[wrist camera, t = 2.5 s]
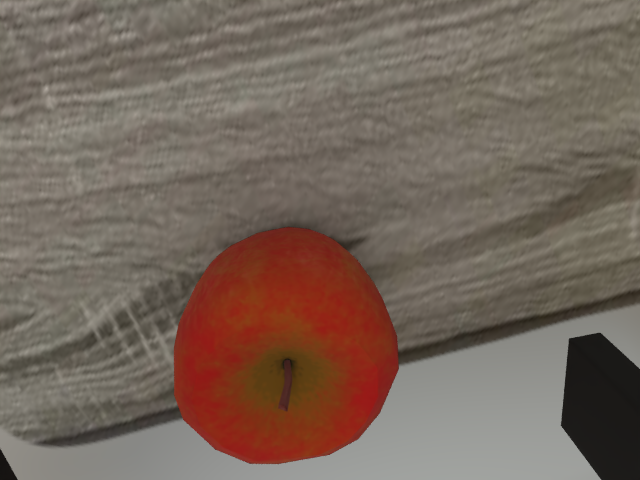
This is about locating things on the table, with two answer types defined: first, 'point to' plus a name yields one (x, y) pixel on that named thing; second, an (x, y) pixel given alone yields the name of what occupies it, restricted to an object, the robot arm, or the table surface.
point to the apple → (283, 349)
